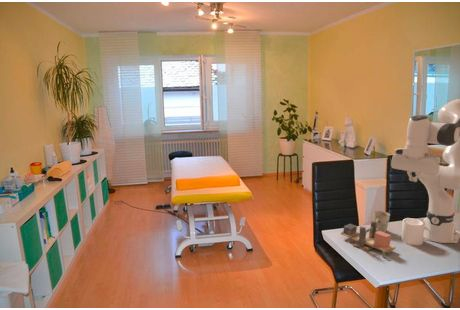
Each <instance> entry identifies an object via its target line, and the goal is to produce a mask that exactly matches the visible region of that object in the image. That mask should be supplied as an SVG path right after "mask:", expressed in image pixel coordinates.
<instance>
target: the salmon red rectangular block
mask: <svg viewBox="0 0 460 310" xmlns="http://www.w3.org/2000/svg"><path fill="white" fill-rule="evenodd" d="M391 236H392V234H389V233H387V232H381V231H378V232H377V231H376V233H375V239H374V244H375V245H378V246H380V247H383V248H385V249H386V248H387V247H389V246H390V245H391Z"/></svg>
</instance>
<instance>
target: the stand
mask: <svg viewBox="0 0 460 310" xmlns="http://www.w3.org/2000/svg"><path fill="white" fill-rule="evenodd" d="M376 226H377V222H375V221H374V220H371V221H370V227H373V228H374V229H372V238H374V239H375V233H376V232H377V231H376ZM365 230H367V227H365V226H361V225H360V227H359V233H360V234H359V241H357V242H355V243H354V244H353V245H352V246H353V247H355V248H357V249H360V250H363V251H365V252H369V251H371V250H373V249H375V248H374V247H371V246H369V245H366V244H365ZM386 255H387V254H386V251H382V255H381V256H382V258H386Z"/></svg>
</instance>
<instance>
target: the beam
mask: <svg viewBox="0 0 460 310" xmlns="http://www.w3.org/2000/svg"><path fill="white" fill-rule="evenodd" d="M357 228H358V226H357V225H356V224H355V225H354V224H353V223H348V224H346V225H344V226H343V231H341V232H340V234H341V235H342V236H344V237H346V238H349V239H352V240H354V241H357V242H359V234H360V232H358V231H357V230H358V229H357ZM372 229H374V228H373V227H371V226H370V227H369V228H366V230H365V244H366V245H369V246H371V247H374V248H373V249H376V250H380V251H381V252H383V251H386V253H387V254H389V253H391V252H392V251H394V250H396V246H395V245H392V244H390V246H389V247H387V248H386V249H385V248H383V247H380V246H378V245H375V244H374V238H372ZM368 232H369V234H368V235H367V233H368Z"/></svg>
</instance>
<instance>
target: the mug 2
mask: <svg viewBox="0 0 460 310" xmlns="http://www.w3.org/2000/svg"><path fill="white" fill-rule="evenodd" d="M423 221H424V220H421V219H418V218H413V217H412V218H410V217H406V218H404V219H402V224H401V235H400V240H401V241H402V242H403V243H405V244H407V245H411V246H420V245H421V246H422V245H423V244H424V241H425V242H430V241H431V240H430V239H431V230H430V228H429V227H425V223H424V222H423ZM424 229H426V230H429V233H430V236H429V238H425V237H424Z"/></svg>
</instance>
